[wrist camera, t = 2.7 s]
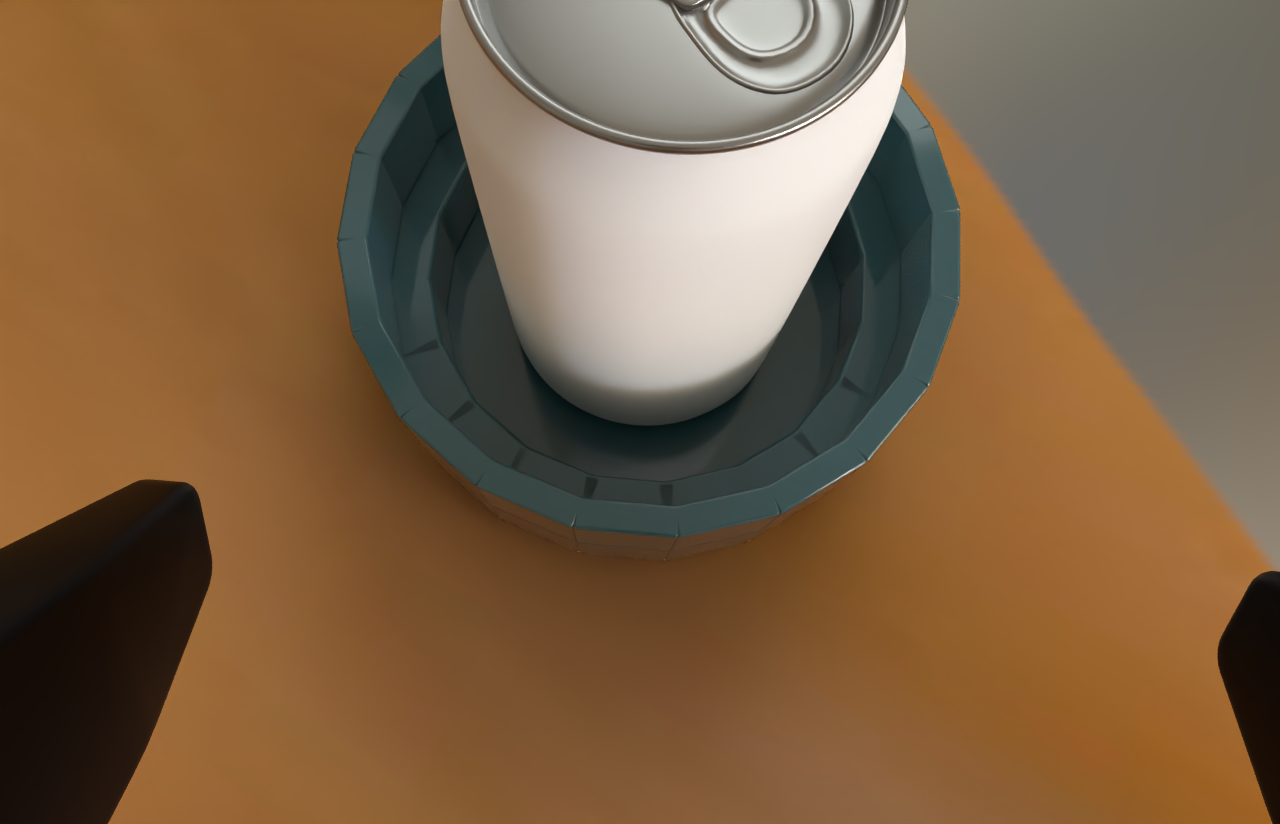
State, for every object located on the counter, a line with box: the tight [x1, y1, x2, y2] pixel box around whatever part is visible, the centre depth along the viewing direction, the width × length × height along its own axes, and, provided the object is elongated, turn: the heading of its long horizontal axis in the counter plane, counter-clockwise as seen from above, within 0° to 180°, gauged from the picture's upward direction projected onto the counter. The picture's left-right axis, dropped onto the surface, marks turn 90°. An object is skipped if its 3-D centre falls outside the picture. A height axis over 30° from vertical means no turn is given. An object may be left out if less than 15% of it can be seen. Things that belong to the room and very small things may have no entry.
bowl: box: [337, 35, 960, 561], centre depth 21 cm, size 12×12×5 cm
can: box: [441, 0, 908, 426], centre depth 17 cm, size 6×6×12 cm
